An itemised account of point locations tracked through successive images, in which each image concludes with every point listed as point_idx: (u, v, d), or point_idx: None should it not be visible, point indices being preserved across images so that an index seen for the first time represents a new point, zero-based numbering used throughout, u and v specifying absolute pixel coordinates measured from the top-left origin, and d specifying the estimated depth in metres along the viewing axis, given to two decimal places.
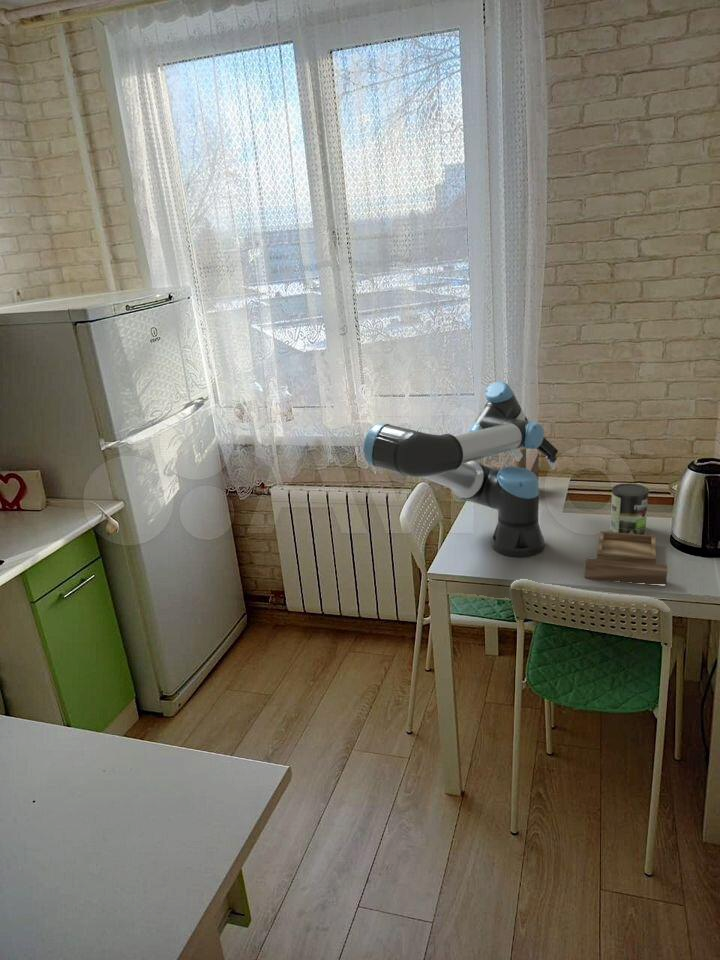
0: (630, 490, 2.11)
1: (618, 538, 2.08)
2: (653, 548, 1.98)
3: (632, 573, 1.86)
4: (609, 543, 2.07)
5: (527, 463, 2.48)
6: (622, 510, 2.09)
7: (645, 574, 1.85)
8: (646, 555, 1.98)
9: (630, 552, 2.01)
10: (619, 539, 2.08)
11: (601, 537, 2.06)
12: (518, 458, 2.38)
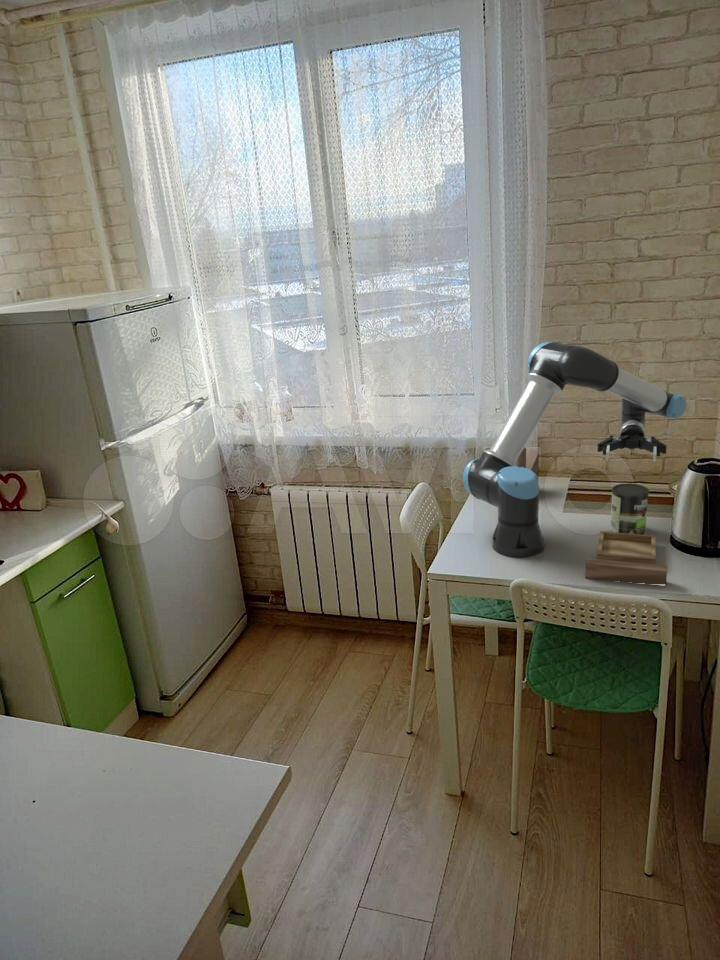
0: (630, 490, 2.11)
1: (618, 538, 2.08)
2: (653, 548, 1.98)
3: (632, 573, 1.86)
4: (609, 543, 2.07)
5: (527, 463, 2.48)
6: (622, 510, 2.09)
7: (645, 574, 1.85)
8: (646, 555, 1.98)
9: (630, 552, 2.01)
10: (619, 539, 2.08)
11: (601, 537, 2.06)
12: (608, 452, 2.20)
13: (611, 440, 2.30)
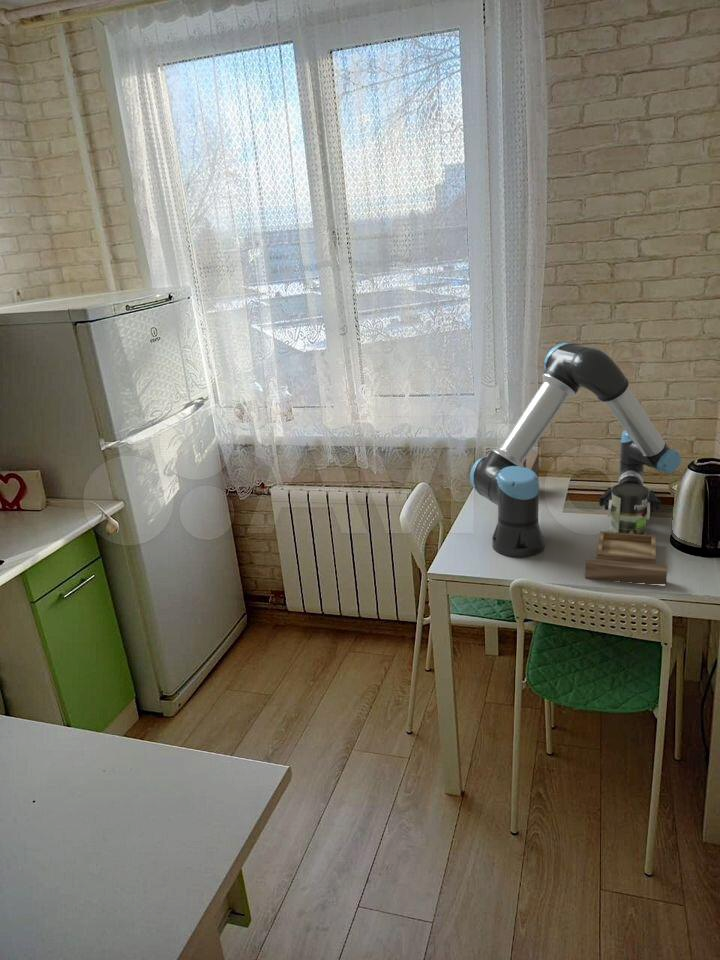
0: (630, 490, 2.11)
1: (618, 538, 2.08)
2: (653, 548, 1.98)
3: (632, 573, 1.86)
4: (609, 543, 2.07)
5: (527, 463, 2.48)
6: (622, 510, 2.09)
7: (645, 574, 1.85)
8: (646, 555, 1.98)
9: (630, 552, 2.01)
10: (619, 539, 2.08)
11: (601, 537, 2.06)
12: None
13: (610, 492, 2.23)
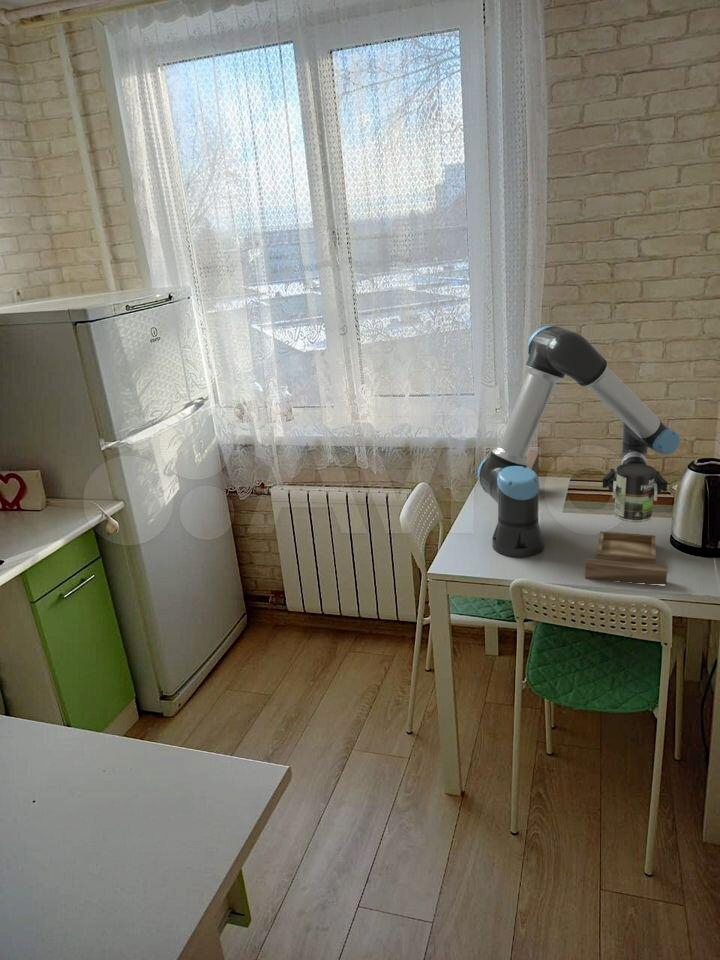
0: (635, 470, 1.99)
1: (618, 538, 2.08)
2: (653, 548, 1.98)
3: (632, 573, 1.86)
4: (609, 543, 2.07)
5: None
6: (627, 490, 1.97)
7: (645, 574, 1.85)
8: (646, 555, 1.98)
9: (630, 552, 2.01)
10: (619, 539, 2.08)
11: (601, 537, 2.06)
12: (615, 489, 2.00)
13: (613, 474, 2.11)
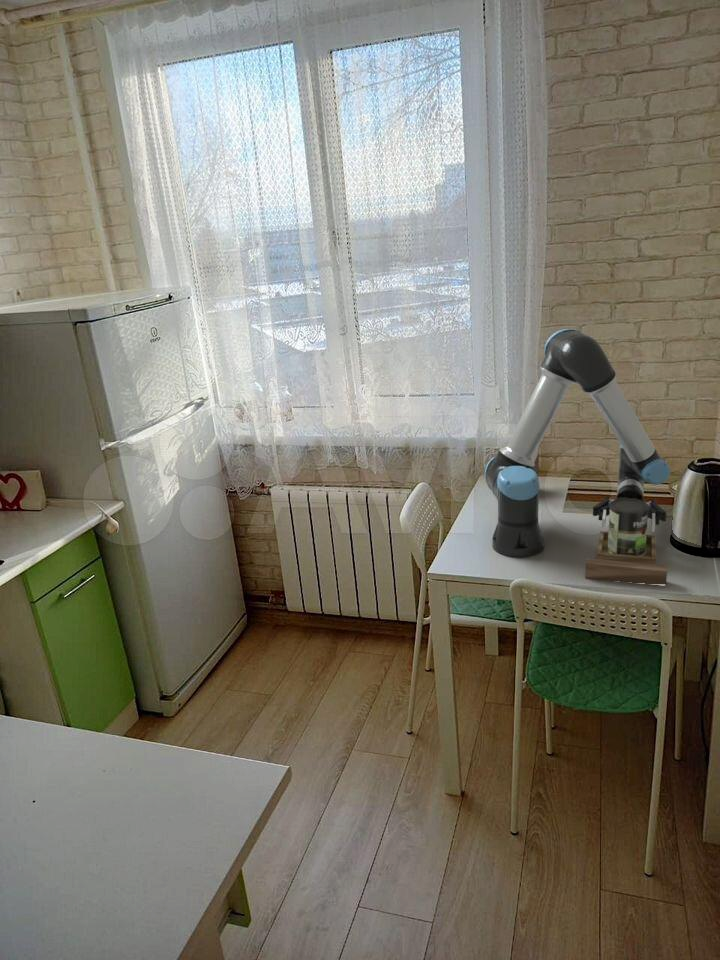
0: (629, 506, 1.97)
1: None
2: (653, 548, 1.98)
3: (632, 573, 1.86)
4: None
5: None
6: (620, 527, 1.95)
7: (645, 574, 1.85)
8: (646, 555, 1.98)
9: None
10: None
11: (601, 537, 2.06)
12: (605, 518, 1.98)
13: (607, 502, 2.09)
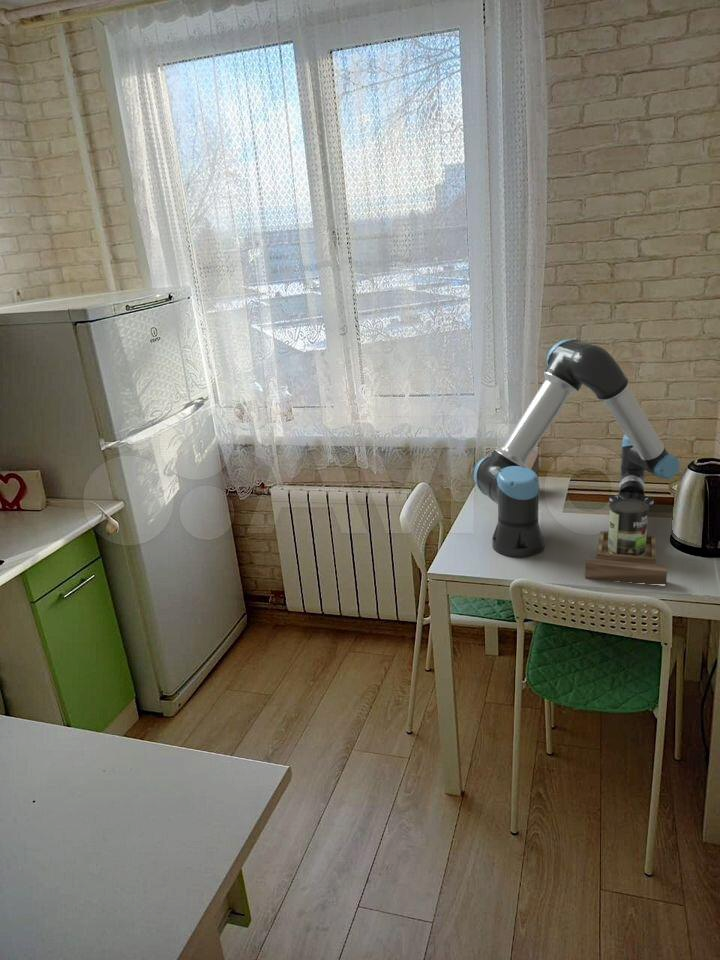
0: (629, 506, 1.97)
1: None
2: (653, 548, 1.98)
3: (632, 573, 1.86)
4: None
5: (527, 463, 2.48)
6: (620, 527, 1.95)
7: (645, 574, 1.85)
8: (646, 555, 1.98)
9: None
10: None
11: (601, 537, 2.06)
12: None
13: None
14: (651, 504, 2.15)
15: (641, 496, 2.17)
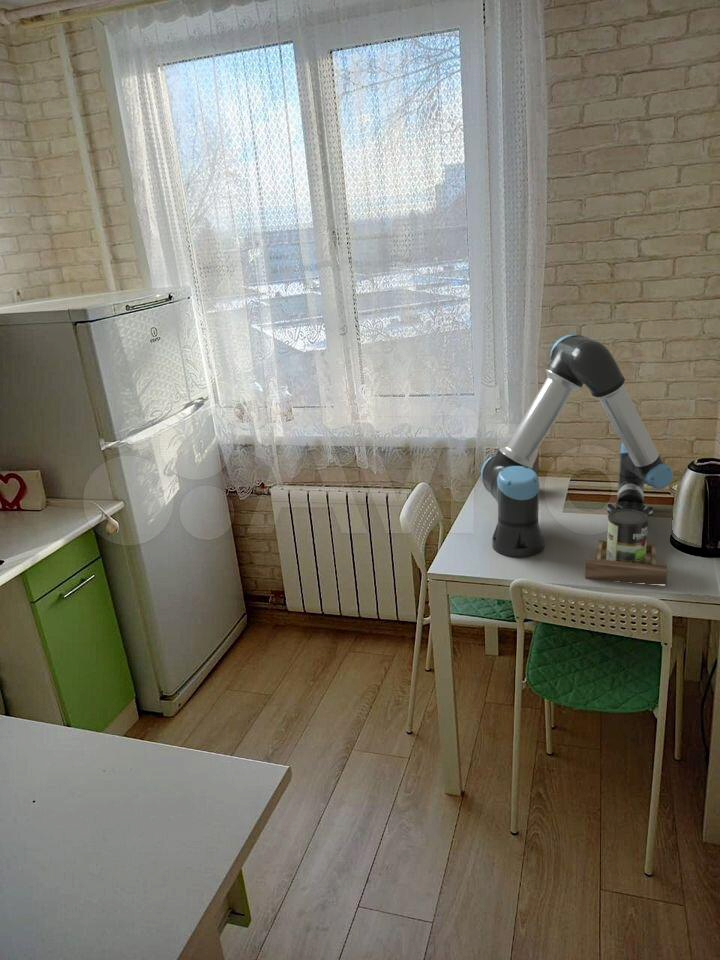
0: (628, 517, 1.90)
1: None
2: (653, 558, 1.92)
3: (632, 573, 1.86)
4: None
5: None
6: (619, 539, 1.89)
7: (645, 574, 1.85)
8: None
9: None
10: None
11: (600, 546, 2.01)
12: None
13: None
14: (650, 514, 2.09)
15: (640, 505, 2.11)
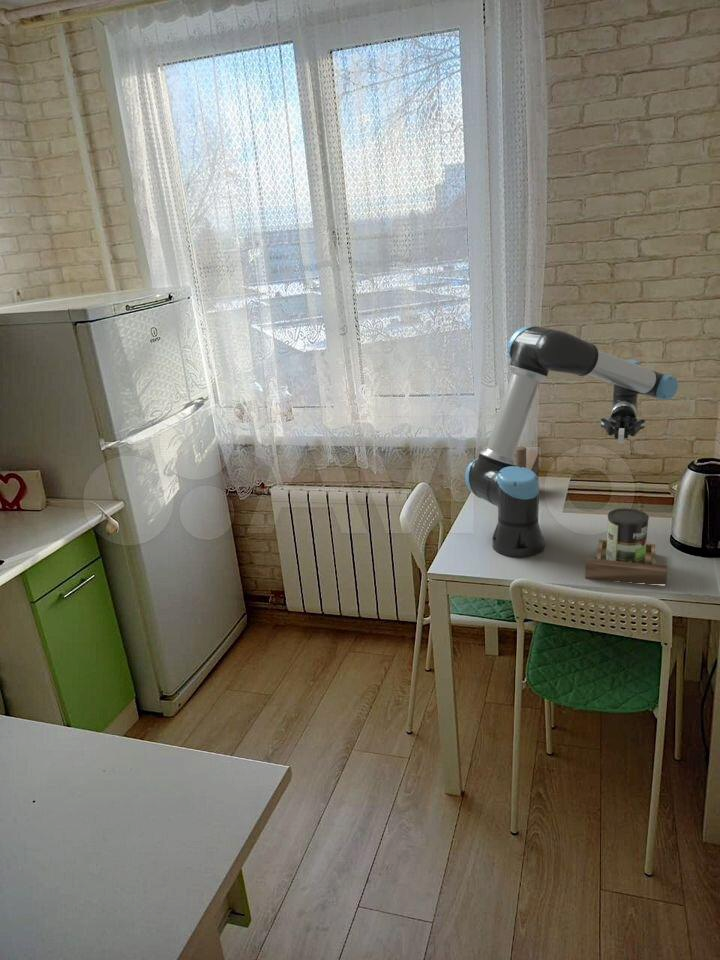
0: (628, 516, 1.91)
1: None
2: (653, 557, 1.93)
3: (632, 573, 1.86)
4: None
5: (527, 463, 2.48)
6: (619, 538, 1.89)
7: (645, 574, 1.85)
8: None
9: None
10: None
11: (600, 546, 2.01)
12: None
13: None
14: (642, 426, 2.16)
15: (632, 419, 2.18)
